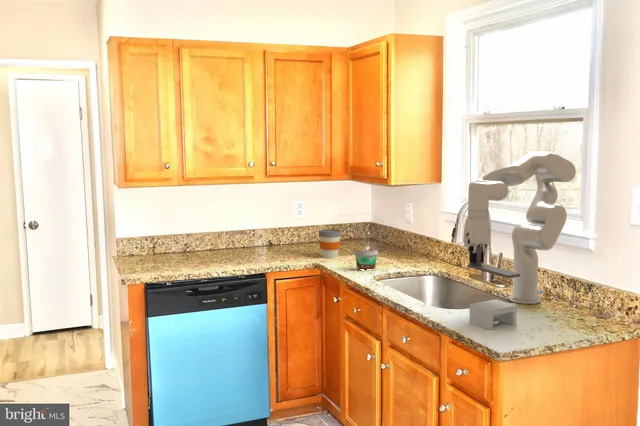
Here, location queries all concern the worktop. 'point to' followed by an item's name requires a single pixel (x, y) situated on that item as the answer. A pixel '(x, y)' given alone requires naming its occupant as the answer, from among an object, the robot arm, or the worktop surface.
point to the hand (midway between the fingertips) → (476, 262)
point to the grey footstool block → (492, 313)
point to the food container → (366, 259)
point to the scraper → (490, 268)
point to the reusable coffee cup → (329, 242)
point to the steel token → (496, 321)
